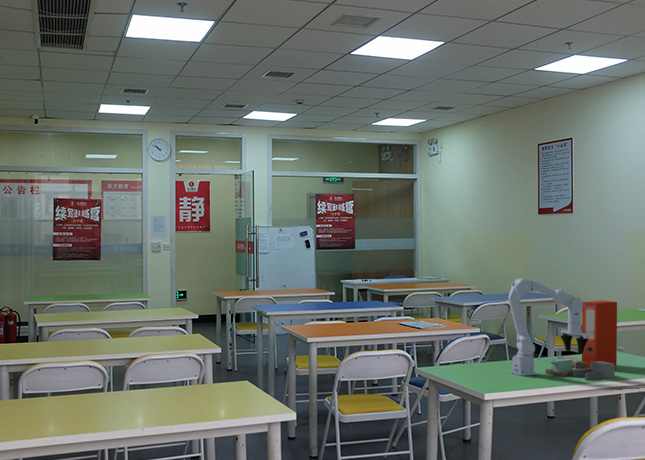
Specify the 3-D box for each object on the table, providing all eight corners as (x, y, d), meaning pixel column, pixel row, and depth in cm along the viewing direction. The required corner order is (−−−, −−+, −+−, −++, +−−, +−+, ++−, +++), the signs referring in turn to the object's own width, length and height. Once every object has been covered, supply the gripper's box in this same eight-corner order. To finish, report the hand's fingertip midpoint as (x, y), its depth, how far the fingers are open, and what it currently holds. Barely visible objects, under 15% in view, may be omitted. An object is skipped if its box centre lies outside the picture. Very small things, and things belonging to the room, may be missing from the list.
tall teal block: (556, 374, 294) (556, 361, 294) (550, 372, 297) (550, 359, 298) (571, 372, 298) (571, 359, 298) (565, 371, 301) (565, 358, 302)
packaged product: (553, 355, 322) (571, 355, 324) (553, 365, 322) (571, 364, 324) (573, 362, 305) (592, 361, 306) (573, 372, 305) (592, 371, 306)
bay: (586, 380, 285) (586, 366, 285) (573, 376, 292) (573, 363, 292) (614, 377, 292) (614, 363, 292) (601, 374, 299) (601, 361, 299)
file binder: (617, 366, 319) (617, 301, 319) (596, 369, 309) (596, 303, 310) (602, 363, 325) (602, 300, 326) (581, 367, 316) (581, 301, 316)
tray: (559, 376, 292) (559, 372, 292) (545, 373, 299) (545, 369, 299) (580, 374, 297) (580, 370, 297) (566, 371, 305) (566, 367, 305)
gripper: (593, 324, 293) (593, 353, 292) (568, 320, 306) (568, 349, 305) (581, 324, 290) (581, 354, 289) (557, 321, 303) (557, 349, 303)
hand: (574, 352), depth 297 cm, fingers open, 7 cm apart
